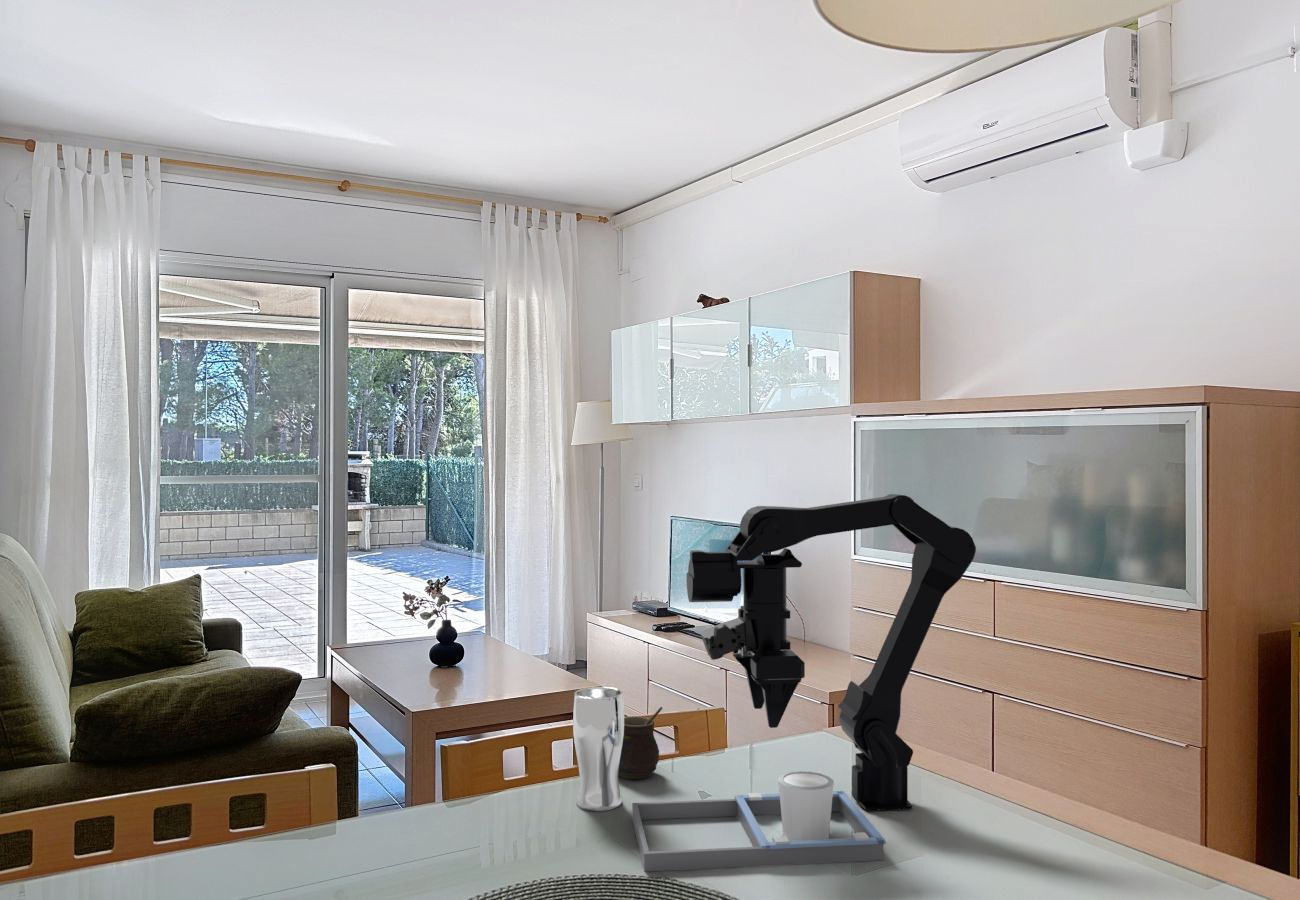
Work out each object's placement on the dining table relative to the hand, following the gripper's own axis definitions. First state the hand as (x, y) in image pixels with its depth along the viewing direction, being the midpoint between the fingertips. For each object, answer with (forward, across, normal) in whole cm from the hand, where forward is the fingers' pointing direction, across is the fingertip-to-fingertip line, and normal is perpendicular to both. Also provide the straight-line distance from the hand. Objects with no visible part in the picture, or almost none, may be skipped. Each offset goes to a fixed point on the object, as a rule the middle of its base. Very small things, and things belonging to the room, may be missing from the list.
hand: (765, 717), depth 131 cm
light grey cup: (+12, +10, +3) cm, 16 cm away
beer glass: (+12, -4, -22) cm, 25 cm away
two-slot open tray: (+12, +10, -4) cm, 16 cm away
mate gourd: (+12, -15, -16) cm, 25 cm away
